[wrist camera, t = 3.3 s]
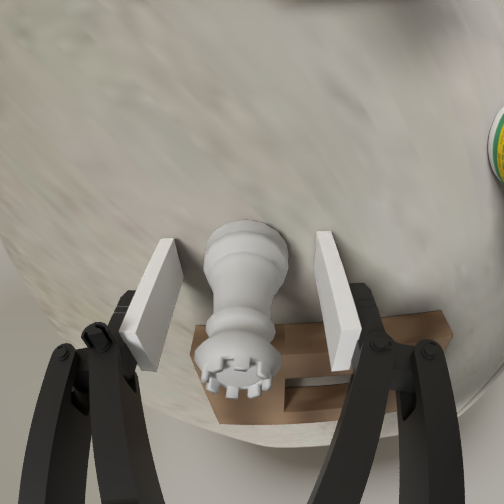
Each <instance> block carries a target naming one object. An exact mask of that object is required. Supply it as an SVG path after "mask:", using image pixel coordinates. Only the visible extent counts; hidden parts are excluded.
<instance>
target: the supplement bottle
mask: <svg viewBox="0 0 504 504" xmlns="http://www.w3.org/2000/svg"><path fill="white" fill-rule="evenodd" d="M488 153H489V160H490V164H491V167H492V170H493V172H494V173H495V175H496V176H497V178H498V179H499V180H500V181H501V182H502V183H503V184H504V106H503V107H502V108H501V109H500V111H499V112H498V113H497V115H496V117H495V119H494V122H493V124H492V126H491V129H490V134H489V139H488Z"/></svg>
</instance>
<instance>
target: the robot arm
mask: <svg viewBox="0 0 504 504" xmlns="http://www.w3.org/2000/svg"><path fill="white" fill-rule="evenodd" d="M314 275H315V280H316V285H317V290H318V295H319V300H320V306H321V311H322V317H323V322H324V328H325V334H326V340H327V346H328V352H329V358H330V364H331V371H342V370H349V368H350V365H351V364H352V369H353V373H352V376H351V378H350V381H349V384H348V390H347V394H346V397H345V400H344V404H343V407H342V410H341V414H340V417H339V420H338V423H337V426H336V429H335V432H334V435H333V438H332V441H331V444H330V447H329V450H328V453H327V456H326V458H325V461H324V464H323V466H322V469H321V471H320V474H319V476H318V479H317V481H316V484H315V486H314V489H313V491H312V493H311V496H310V498H309V500H308V503H307V504H360V501H361V498H362V495H363V492H364V489H365V486H366V483H367V480H368V477H369V473H370V470H371V467H372V463H373V460H374V456H375V452H376V448H377V444H378V441H379V437H380V433H381V428H382V424H383V419H384V415H385V410H386V405H387V400H388V394H389V390H395V392H396V402H397V415H398V430H399V457H400V488H399V493H400V494H399V504H465V488H464V470H463V457H462V448H461V439H460V431H459V424H458V418H457V412H456V406H455V401H454V395H453V390H452V386H451V381H450V376H449V372H448V368H447V364H446V359H445V356H444V352H443V349H442V347H441V346H440V345H439V344H438V343H437V342H435V341H433V340H431V339H423V340H420V341H419V342H418V343H417V344H416V346H412V345H405V344H400V343H397V342H395V341H394V340H393V338H392V337H391V336H389V335H388V334H387V333H386V331H385V329H384V326H383V323H382V320H381V317H380V314H379V311H378V309H377V307H376V303H375V300H374V298H373V295H372V292H371V290H370V289H369V288H368V287H367V286H366V285H365V284H364V283H350V284H348V281H347V278H346V275H345V271H344V268H343V265H342V262H341V259H340V256H339V253H338V250H337V247H336V244H335V241H334V239H333V236H332V233H331V231H318V232H317V234H316V252H315V267H314ZM183 278H184V276H183V272H182V268H181V264H180V261H179V257H178V253H177V249H176V245H175V241H174V238H166V239H161V240H160V242H159V244H158V246H157V248H156V250H155V252H154V254H153V256H152V258H151V260H150V262H149V264H148V266H147V268H146V270H145V273H144V275H143V277H142V279H141V281H140V283H139V286H138V288H137V290H128V291H127V292H126V293H125V294H124V295H123V296H122V297H121V298H120V300H119V302H118V304H117V307H116V309H115V311H114V313H113V315H112V317H111V320H110V322H109V324H108V326H107V325H106V324H105V323H102V322H95V323H93V324H90V325H89V326H87V327H86V328H85V329H84V331H83V332H82V335H81V338H82V339H83V341H84V342H85V344H86V345H87V347H88V348H83V349H77V350H76V349H75V348H74V347H73V346H72V345H71V344H68V343H65V344H61V345H60V346H58V347H57V348H56V349H55V350H54V351H53V353H52V356H51V359H50V361H49V364H48V368H47V370H46V373H45V377H44V380H43V383H42V386H41V390H40V393H39V397H38V400H37V404H36V407H35V412H34V415H33V419H32V424H31V428H30V432H29V437H28V442H27V446H26V452H25V457H24V463H23V469H22V476H21V483H20V491H19V501H18V504H85V491H86V478H87V468H88V458H89V450H90V442H91V435H92V440H93V451H94V459H95V466H96V473H97V480H98V485H99V491H100V497H101V503H102V504H165V502H164V499H163V495H162V492H161V488H160V484H159V481H158V477H157V473H156V470H155V465H154V461H153V457H152V452H151V448H150V444H149V439H148V434H147V429H146V424H145V418H144V413H143V407H142V401H141V395H140V389H139V382H138V376H137V373H136V372H135V369H136V365H137V364H138V366H139V367H140V369H141V370H142V371H152V372H157V368H158V365H159V361H160V357H161V354H162V350H163V346H164V343H165V339H166V336H167V332H168V328H169V325H170V322H171V318H172V315H173V311H174V308H175V305H176V301H177V298H178V295H179V291H180V288H181V285H182V282H183Z"/></svg>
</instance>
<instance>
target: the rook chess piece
mask: <svg viewBox="0 0 504 504" xmlns="http://www.w3.org/2000/svg"><path fill="white" fill-rule="evenodd" d="M288 259H289V254H288V249H287V244H286V242H285V241H284V239H283V238H282V237H281V235H280V234H279V233H278V231H276V230H274V229H273V228H271V227H269V226H267V225H266V224H264V223H261V222H255V221H250V220H241V221H235V222H229V223H227V224H225V225H223V226H222V227H220V228H218V229H217V230H215V231H214V232H213V233H212V235H211V236H210V238H209V239H208V241H207V242H206V248H205V254H204V264H203V269H204V273H205V275H206V278H207V280H208V283H209V284H210V287H211V289H212V291H213V304H214V311H213V315H212V316H211V317H210V318H209V319H208V321H207V322H206V332H207V334H208V336H209V338H208V339H207V340H205V341H204V342H202V344H201V345H200V346H199V347H198V348H197V349H196V350H195V356H194V361H195V362H196V364H197V365H198V367H199V368H200V370H201V371H202V375H201V383H206V387H205V389H206V390H208V391H209V392H211V393H212V394H216V393H218V392H219V386H221V387H224V388H226V397H225V398H228V399H236V400H238V395H239V390H245V389H248V397H249V398H250V399H253V398H257V397H261V396H262V390H265V391H270V389H271V387H272V378H273V377H274V376H275V375H276V374H277V373H278V371H279V369H280V367H281V365H282V363H283V362H282V358H281V355H280V353H279V352H278V351H277V350H276V349H275V348H274V347H273V346H272V345H271V344H270V342H271V341H272V340H273V338H274V335H275V333H276V331H275V327H274V323H273V322H272V321H271V317H270V313H271V307H272V302H273V297H274V296H275V294H276V293H277V292H278V290H279V288H280V287H281V286H282V285H283V283H284V280H285V277H286V274H287V271H288V268H289V266H288Z"/></svg>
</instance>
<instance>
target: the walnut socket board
mask: <svg viewBox="0 0 504 504" xmlns="http://www.w3.org/2000/svg"><path fill="white" fill-rule="evenodd" d="M381 320H382V323H383V326H384V329H385V331H386V333H387V334H388V335H389V336H391V337H392V338H393V340H394V341H395V342H397V343H400V344H405V345H412V346H416V344H417V343H418V342H419V341H420V340H423V339H431V340H433V341H435V342H437V343H438V344H439V345H440V346H441V347H442V349H443V352H444V350H445V349H446V347H447V345H448V344H449V342H450V340H451V339H452V337H453V333H452V331H451V329H450V327H449V325H448V323H447V321H446V319H445V317H444V315H443V313H442V311H441V310H440V311H433V312H425V313H417V314H409V315H401V316H392V317H382V318H381ZM274 327H275V331H276V333H275V335H274V338H273V340H272V341H271V342H270V344H271V345H272V346H273V347H274V348H275V349H276V350H277V351H278V352H279V353H280V355H281V358H282V362H283V363H282V365H281V367H280V369H279V371H278V373H277V374H276V375H275V376H274V377H273V378H272V387H271V389H270V391H265V390H262V396H261V397H257V398H253V399H250V398H249V397H248V389H245V390H239V395H238V400H236V399H228V398H225V397H226V388H224V387H221V386H219V392H218V393H216V394H212V393H211V392H209V391H208V390H206V389H205V387H206V383H202V386H203V388H204V390H205V393H206V395H207V397H208V400H209V402H210V404H211V406H212V409H213V411H214V413H215V415H216V417H217V420H218V422H219V424H235V425H277V424H300V423H314V422H326V421H336V420H339V417H340V414H341V410H342V407H343V404H344V400H345V397H346V394H347V390H348V384H349V383H346V384H336V385H325V386H312V387H296V388H285V379H291V378H309V377H323V376H335V375H345V374H352V373H353V369H352V364H351V365H350V368H349V370H342V371H331V364H330V358H329V352H328V346H327V340H326V334H325V328H324V322H320V323H302V324H279V325H274ZM208 338H209V336H208V334H207V332H206V326H199V325H196V327H195V332H194V337H193V342H192V346H191V351H190V356H191V359H192V361H193V364H194V366H195V369H196V371H197V374H198V376H199V379H200V381H201V375H202V371H201V370H200V368H199V367H198V365H197V364H196V362H195V361H194V356H195V350H196V349H197V348H198V347H199V346H200V345H201V344H202V342H204V341H205V340H207V339H208ZM395 411H397V402H396V392H395V390H389V394H388V400H387V405H386V410H385V413H390V412H395Z"/></svg>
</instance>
